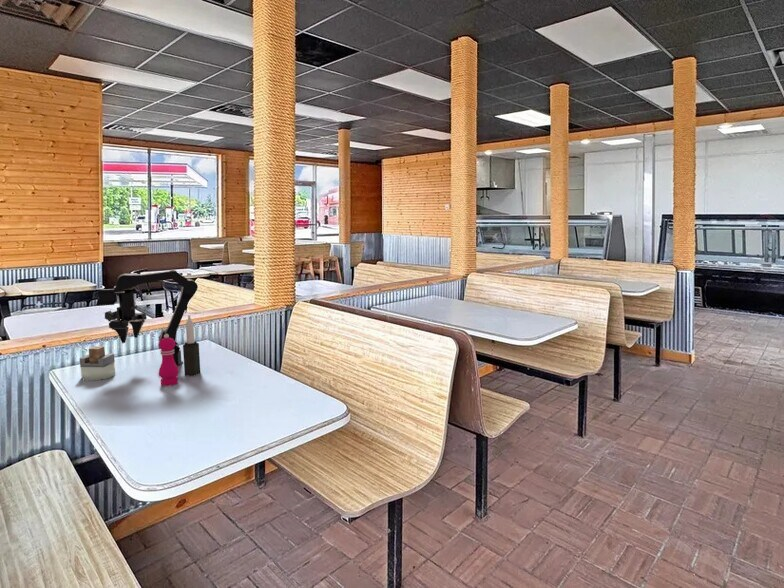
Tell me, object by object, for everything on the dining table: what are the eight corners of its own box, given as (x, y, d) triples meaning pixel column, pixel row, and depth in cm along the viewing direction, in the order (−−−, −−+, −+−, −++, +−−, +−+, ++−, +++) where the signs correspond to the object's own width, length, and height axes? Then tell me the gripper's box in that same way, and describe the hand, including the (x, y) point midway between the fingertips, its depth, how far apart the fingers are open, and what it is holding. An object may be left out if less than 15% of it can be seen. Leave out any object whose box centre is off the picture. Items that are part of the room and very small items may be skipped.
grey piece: (121, 371, 212) (120, 360, 211) (104, 381, 200) (103, 369, 200) (93, 371, 213) (92, 359, 212) (74, 380, 201) (73, 368, 200)
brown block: (105, 362, 208) (104, 346, 207) (99, 365, 204) (98, 349, 203) (96, 362, 208) (94, 346, 207) (90, 365, 204) (88, 348, 203)
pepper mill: (174, 386, 195) (171, 336, 192) (156, 386, 195) (152, 335, 192) (182, 380, 202) (179, 331, 199) (164, 380, 202) (161, 331, 199)
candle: (194, 376, 207) (191, 316, 203) (183, 375, 208) (179, 316, 204) (201, 372, 212) (198, 314, 208) (190, 371, 213) (187, 313, 209)
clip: (114, 361, 209) (114, 353, 209) (103, 367, 202) (102, 358, 201) (92, 361, 210) (91, 353, 209) (80, 366, 202) (79, 358, 202)
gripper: (121, 300, 220) (123, 334, 222) (94, 307, 202) (97, 345, 204) (145, 300, 220) (148, 335, 222) (121, 308, 201) (124, 346, 204)
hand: (129, 340), depth 213 cm, fingers open, 9 cm apart
